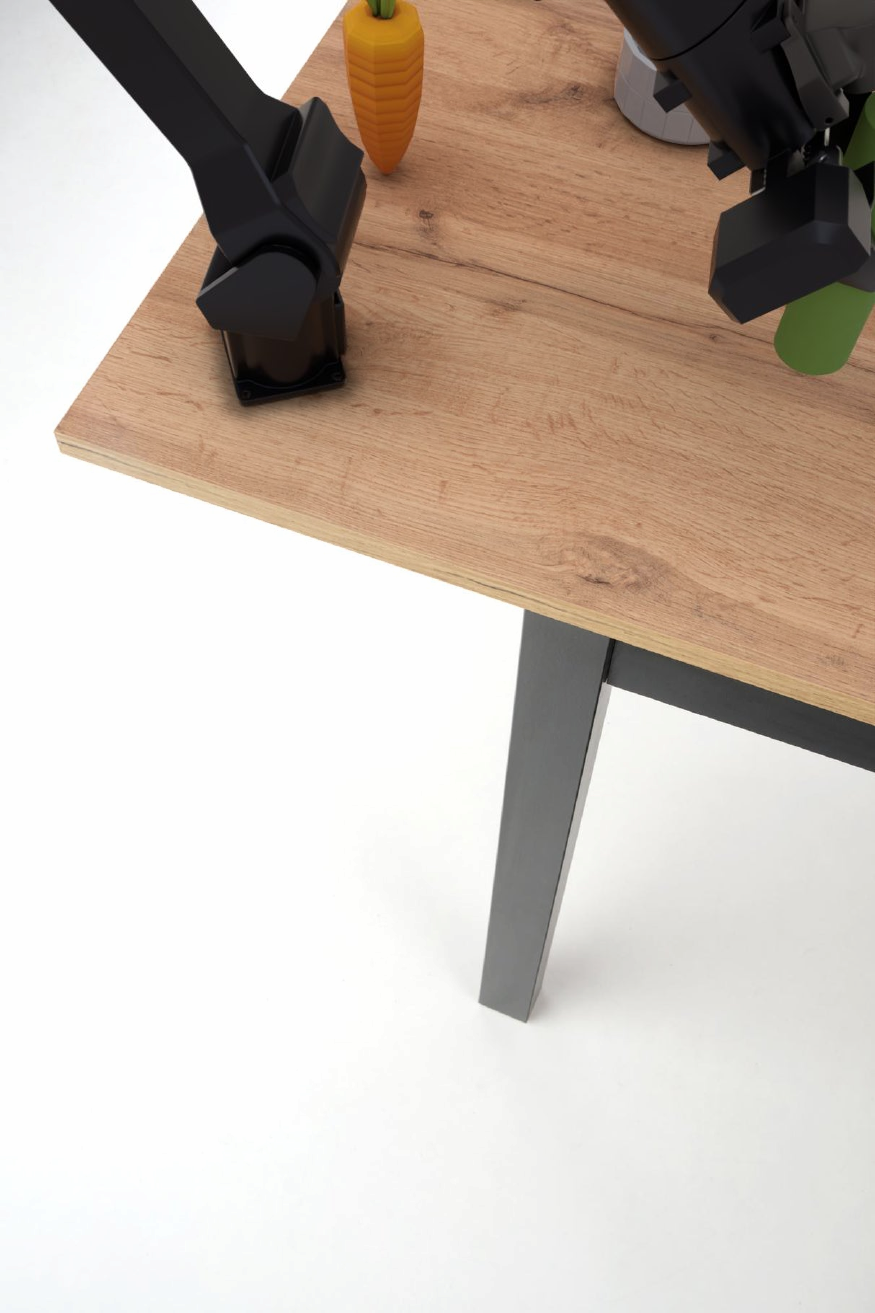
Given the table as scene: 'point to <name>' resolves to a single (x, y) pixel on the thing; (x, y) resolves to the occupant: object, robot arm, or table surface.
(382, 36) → the carrot
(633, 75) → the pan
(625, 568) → the table surface
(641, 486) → the table surface
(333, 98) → the table surface
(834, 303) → the green cylinder
